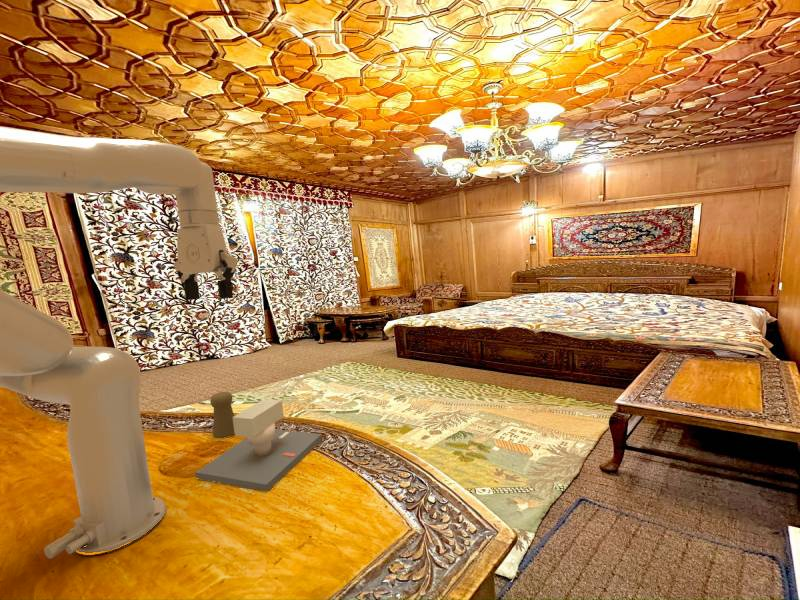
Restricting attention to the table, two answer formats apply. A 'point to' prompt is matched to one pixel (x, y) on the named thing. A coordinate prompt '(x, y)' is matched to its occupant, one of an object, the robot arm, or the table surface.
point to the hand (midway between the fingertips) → (209, 298)
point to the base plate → (260, 460)
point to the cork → (222, 415)
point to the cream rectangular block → (259, 421)
